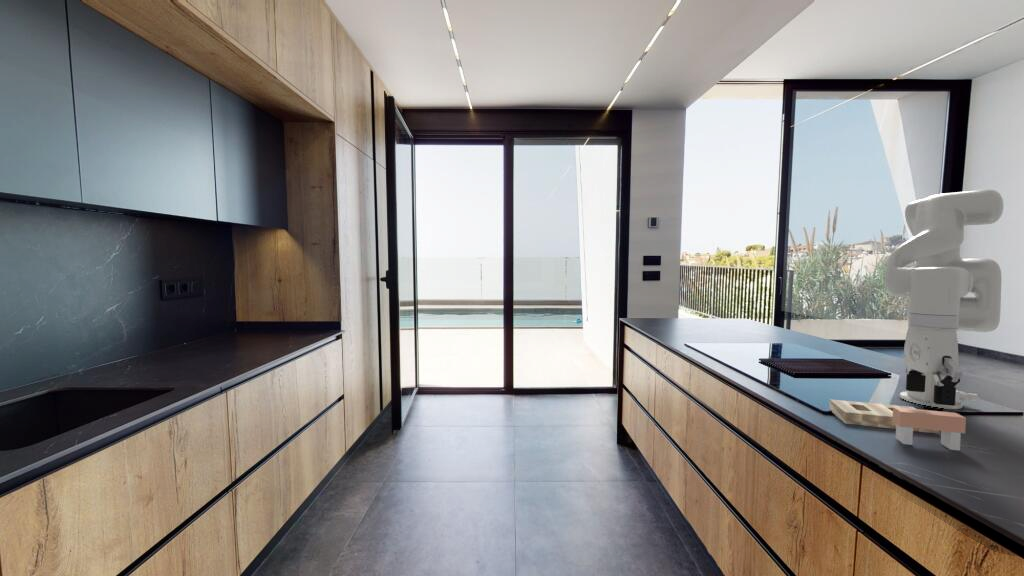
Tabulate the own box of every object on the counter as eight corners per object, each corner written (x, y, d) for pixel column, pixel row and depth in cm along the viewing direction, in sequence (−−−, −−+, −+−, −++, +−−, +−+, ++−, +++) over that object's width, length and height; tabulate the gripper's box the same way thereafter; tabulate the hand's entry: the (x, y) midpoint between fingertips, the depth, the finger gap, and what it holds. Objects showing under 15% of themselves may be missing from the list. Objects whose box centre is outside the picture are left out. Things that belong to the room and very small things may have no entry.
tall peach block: (954, 445, 86) (956, 412, 86) (964, 451, 84) (966, 417, 83) (891, 437, 90) (893, 407, 90) (899, 443, 88) (900, 411, 87)
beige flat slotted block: (912, 417, 102) (912, 406, 101) (937, 433, 92) (938, 421, 92) (829, 409, 108) (829, 399, 108) (845, 423, 99) (845, 412, 99)
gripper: (889, 317, 95) (886, 385, 95) (936, 326, 79) (932, 408, 79) (929, 318, 92) (925, 388, 93) (986, 328, 76) (982, 413, 77)
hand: (928, 397), depth 86 cm, fingers open, 9 cm apart
